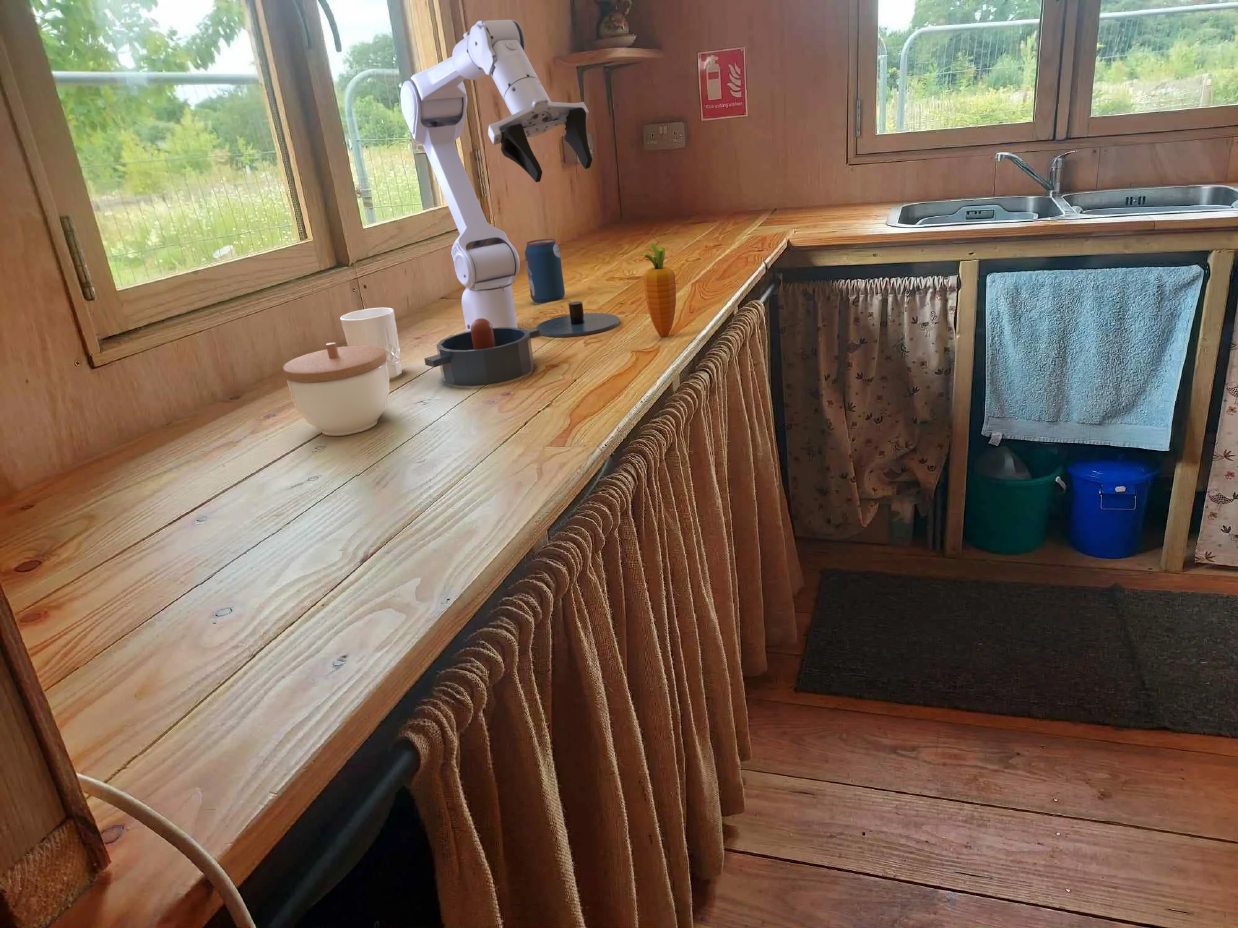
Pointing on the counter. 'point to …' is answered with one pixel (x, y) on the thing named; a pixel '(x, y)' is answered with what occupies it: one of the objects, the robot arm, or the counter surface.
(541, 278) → the soda can
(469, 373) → the pot
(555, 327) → the lid
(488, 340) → the sausage
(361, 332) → the white cup
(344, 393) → the lidded bowl
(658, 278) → the carrot
